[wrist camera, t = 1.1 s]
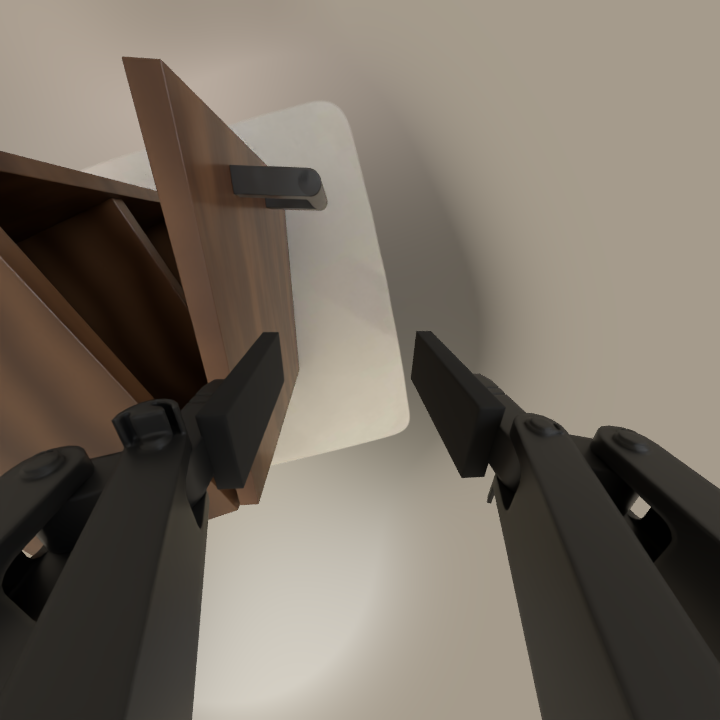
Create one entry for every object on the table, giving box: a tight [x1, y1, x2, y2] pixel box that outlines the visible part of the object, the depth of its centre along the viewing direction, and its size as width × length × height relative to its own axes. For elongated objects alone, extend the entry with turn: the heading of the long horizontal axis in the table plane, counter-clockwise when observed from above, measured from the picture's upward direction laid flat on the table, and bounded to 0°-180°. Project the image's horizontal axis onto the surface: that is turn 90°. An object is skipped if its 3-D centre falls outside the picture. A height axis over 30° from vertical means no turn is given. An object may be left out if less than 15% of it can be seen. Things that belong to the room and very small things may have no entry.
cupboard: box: [0, 151, 240, 555], centre depth 28 cm, size 18×26×24 cm
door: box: [122, 57, 327, 505], centre depth 27 cm, size 7×26×24 cm, turn 179°
